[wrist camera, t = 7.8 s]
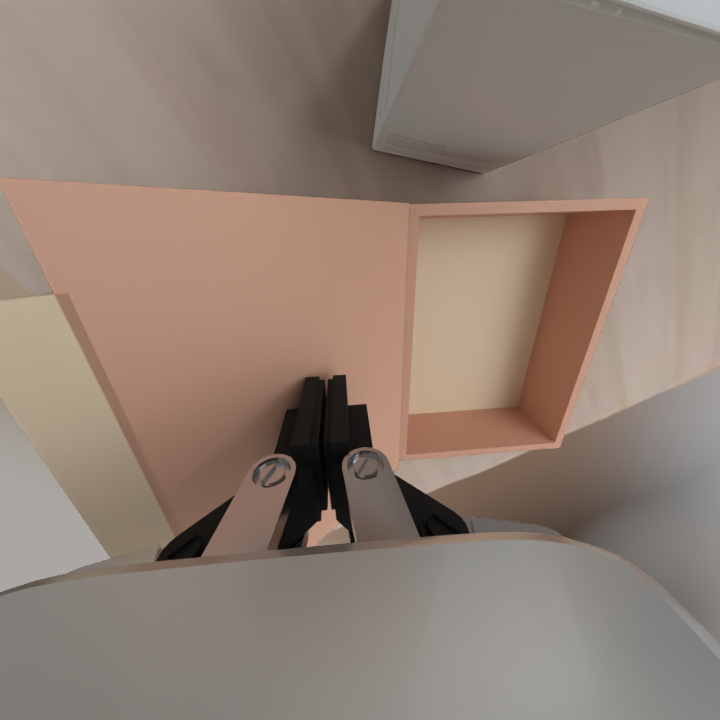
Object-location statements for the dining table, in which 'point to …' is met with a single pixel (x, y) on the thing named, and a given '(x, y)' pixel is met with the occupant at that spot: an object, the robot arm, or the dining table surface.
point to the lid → (193, 340)
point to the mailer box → (505, 318)
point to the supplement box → (532, 72)
